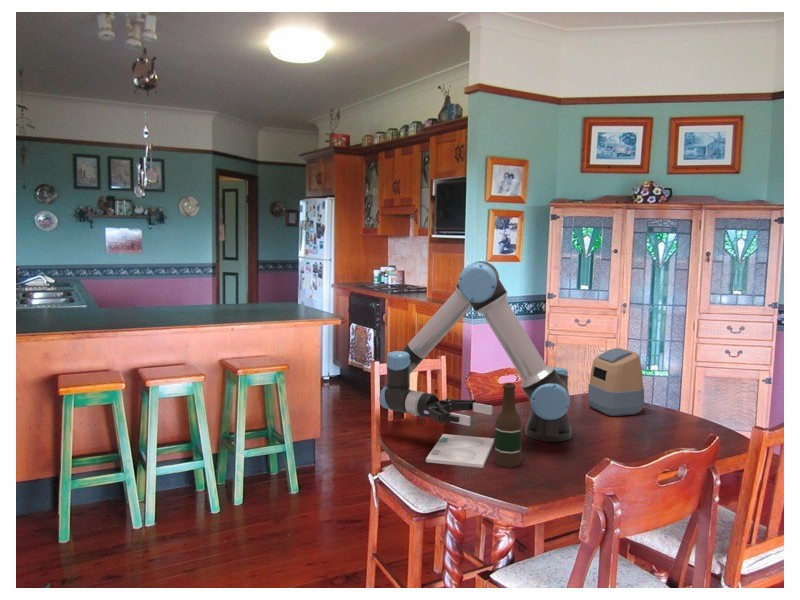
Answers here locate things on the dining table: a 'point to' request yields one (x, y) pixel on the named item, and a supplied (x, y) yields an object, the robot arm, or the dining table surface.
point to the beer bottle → (508, 431)
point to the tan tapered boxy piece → (616, 383)
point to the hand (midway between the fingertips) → (481, 415)
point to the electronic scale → (461, 450)
